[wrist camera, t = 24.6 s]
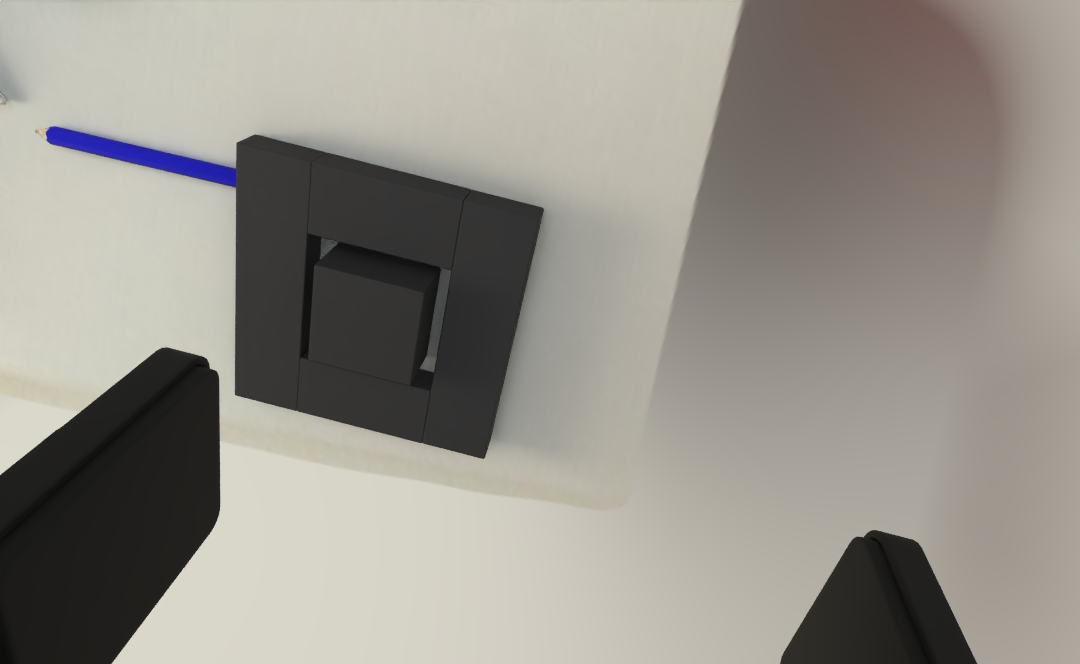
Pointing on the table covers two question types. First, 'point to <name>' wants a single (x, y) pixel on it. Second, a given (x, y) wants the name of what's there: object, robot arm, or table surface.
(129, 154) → the pencil
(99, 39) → the table surface
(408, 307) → the black block
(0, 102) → the sunglasses
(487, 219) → the dark grey square frame
